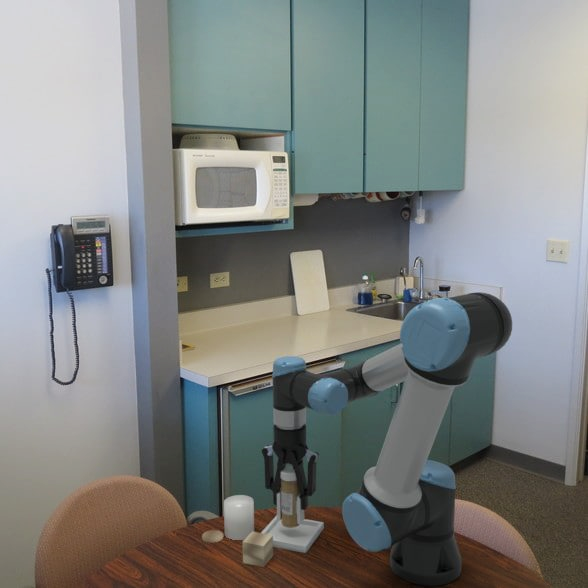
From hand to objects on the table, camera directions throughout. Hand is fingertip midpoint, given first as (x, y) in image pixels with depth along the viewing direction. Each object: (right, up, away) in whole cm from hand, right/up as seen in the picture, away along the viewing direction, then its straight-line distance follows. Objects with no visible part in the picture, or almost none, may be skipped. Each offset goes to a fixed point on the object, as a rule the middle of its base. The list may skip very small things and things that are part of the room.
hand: (290, 519), depth 162 cm
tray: (0, -4, +1) cm, 4 cm away
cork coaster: (-18, -5, 0) cm, 19 cm away
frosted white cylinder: (-12, -4, +2) cm, 13 cm away
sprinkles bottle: (0, -1, 0) cm, 1 cm away
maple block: (-7, -6, -9) cm, 13 cm away
